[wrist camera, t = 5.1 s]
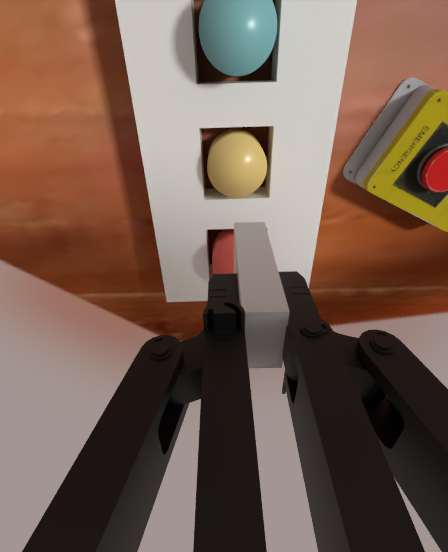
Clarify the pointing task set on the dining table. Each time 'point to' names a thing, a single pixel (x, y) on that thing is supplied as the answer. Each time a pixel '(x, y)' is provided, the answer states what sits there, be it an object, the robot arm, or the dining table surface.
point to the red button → (223, 252)
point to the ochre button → (236, 163)
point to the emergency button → (407, 153)
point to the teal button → (237, 34)
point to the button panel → (234, 113)
